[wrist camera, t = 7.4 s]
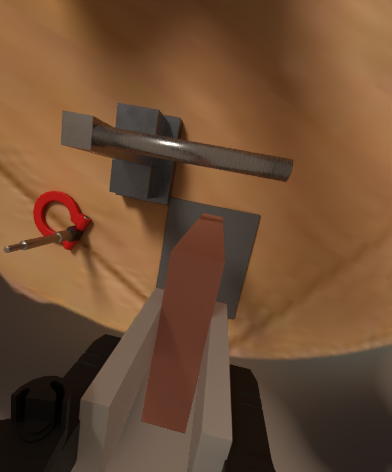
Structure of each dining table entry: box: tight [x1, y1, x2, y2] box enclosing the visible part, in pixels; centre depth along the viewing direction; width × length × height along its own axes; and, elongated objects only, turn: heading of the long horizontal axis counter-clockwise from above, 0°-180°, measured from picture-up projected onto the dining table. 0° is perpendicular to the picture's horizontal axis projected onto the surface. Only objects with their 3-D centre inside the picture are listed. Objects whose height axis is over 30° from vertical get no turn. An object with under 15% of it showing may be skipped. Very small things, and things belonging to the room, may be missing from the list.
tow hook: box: [4, 191, 91, 253], centre depth 32 cm, size 8×13×9 cm
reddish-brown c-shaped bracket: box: [141, 213, 225, 433], centre depth 19 cm, size 10×2×17 cm, turn 169°
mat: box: [156, 198, 260, 319], centre depth 36 cm, size 18×14×1 cm
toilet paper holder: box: [61, 103, 293, 205], centre depth 25 cm, size 12×20×18 cm, turn 79°
